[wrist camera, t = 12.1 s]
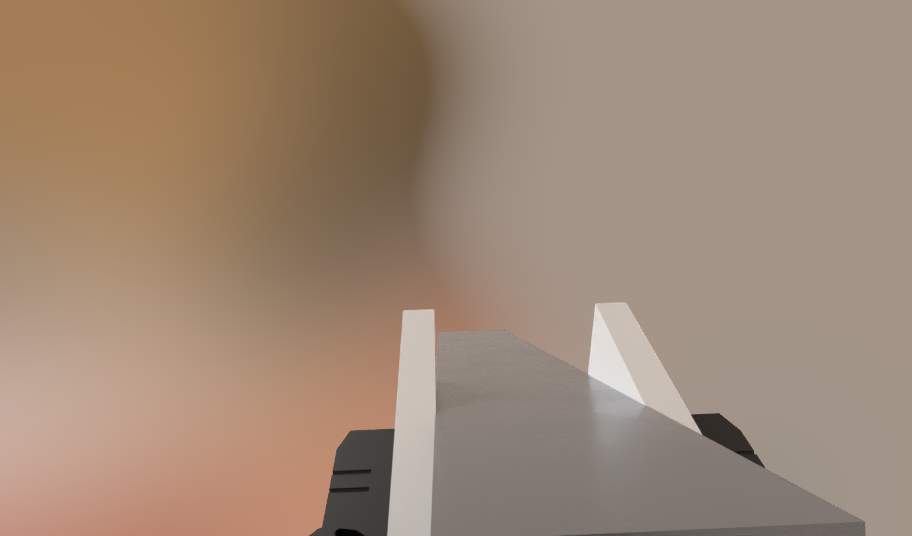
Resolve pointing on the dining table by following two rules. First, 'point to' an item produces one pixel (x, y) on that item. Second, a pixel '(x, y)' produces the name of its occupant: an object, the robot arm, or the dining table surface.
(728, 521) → the bar
